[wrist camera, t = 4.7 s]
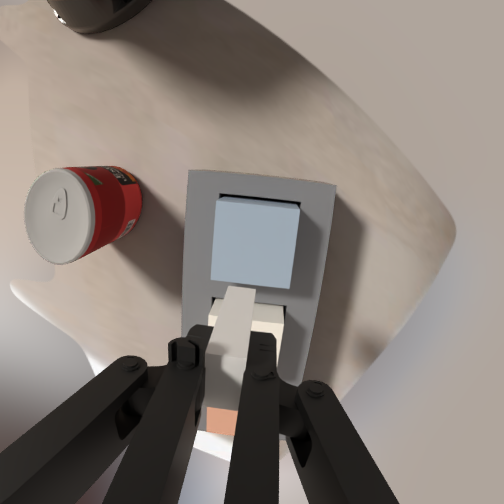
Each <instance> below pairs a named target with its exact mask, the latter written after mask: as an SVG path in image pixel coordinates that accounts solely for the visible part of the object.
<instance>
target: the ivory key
mask: <svg viewBox="0 0 504 504" xmlns="http://www.w3.org/2000/svg"><path fill="white" fill-rule="evenodd" d="M223 300H224V298H217V297H216V299H215V301H214V304H213V306H212V308H211V310H210V313H209V316H208V326H215V323H216V320H217V317H218V314H219V311H220V308H221V305H222V302H223ZM283 327H284V315H283V305H276V304H267V303H258V302H254V309H253V318H252V326H251V331H258V332H267V333H272V334H273V335H274V337H275V338H276V339H277V363H278V358H279V352H280V346H281V340H282V333H283Z"/></svg>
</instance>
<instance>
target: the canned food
mask: <svg viewBox="0 0 504 504" xmlns="http://www.w3.org/2000/svg"><path fill="white" fill-rule="evenodd" d="M141 209H142V194H141V190H140V187H139V185H138V183H137V181H136V179H135V178H134V177H133V176H132V175H131V174H130V173H129V172H127V171H126V170H124V169H122V168H120V167H116V166H91V167H66V168H56V169H52V170H49V171H46V172H44V173H42V174H41V175H40V176H38V178H37V179H36V180H35V181H34V182H33V184H32V186H31V187H30V189H29V192H28V194H27V197H26V201H25V207H24V222H25V228H26V232H27V235H28V238H29V240H30V242H31V244H32V246H33V248H34V249H35V251H36V252H37V253H38V254H39V255H40V256H41V257H42V258H43V259H45V260H46V261H48V262H50V263H53V264H57V265H63V264H68V263H71V262H74V261H76V260H78V259H80V258H82V257H84V256H86V255H88V254H90V253H92V252H93V251H95V250H97V249H99V248H101V247H103V246H105V245H107V244H109V243H111V242H113V241H115V240H117V239H119V238H121V237H123V236H125V235H126V234H127V233H129V232H130V231H131V230H132V228H133V227H134V226H135V224H136V222H137V221H138V219H139V216H140V214H141Z"/></svg>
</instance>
